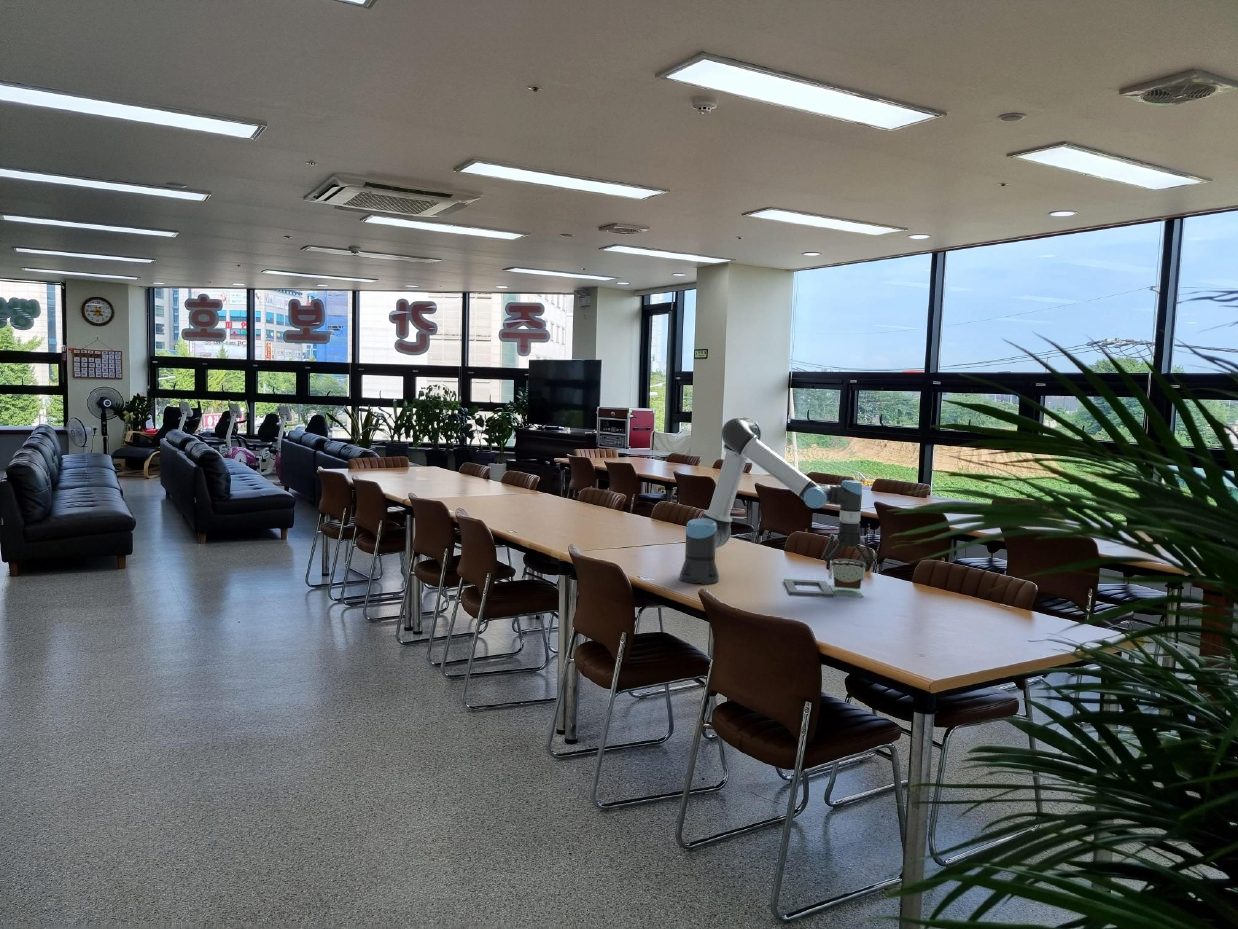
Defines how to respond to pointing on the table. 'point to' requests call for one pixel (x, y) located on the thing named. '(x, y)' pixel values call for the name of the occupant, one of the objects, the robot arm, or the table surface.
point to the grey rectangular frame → (793, 591)
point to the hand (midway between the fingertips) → (846, 579)
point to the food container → (847, 573)
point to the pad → (845, 591)
